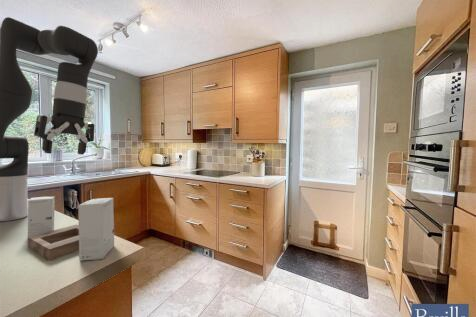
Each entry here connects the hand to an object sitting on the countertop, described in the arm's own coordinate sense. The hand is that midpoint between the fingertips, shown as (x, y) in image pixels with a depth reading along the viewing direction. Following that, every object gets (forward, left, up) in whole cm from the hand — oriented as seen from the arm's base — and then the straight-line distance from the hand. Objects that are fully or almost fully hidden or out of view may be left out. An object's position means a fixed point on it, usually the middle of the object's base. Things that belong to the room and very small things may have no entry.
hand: (65, 153), depth 62 cm
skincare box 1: (-14, -1, -28) cm, 31 cm away
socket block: (+2, -1, -27) cm, 27 cm away
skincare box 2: (+15, +2, -28) cm, 31 cm away
